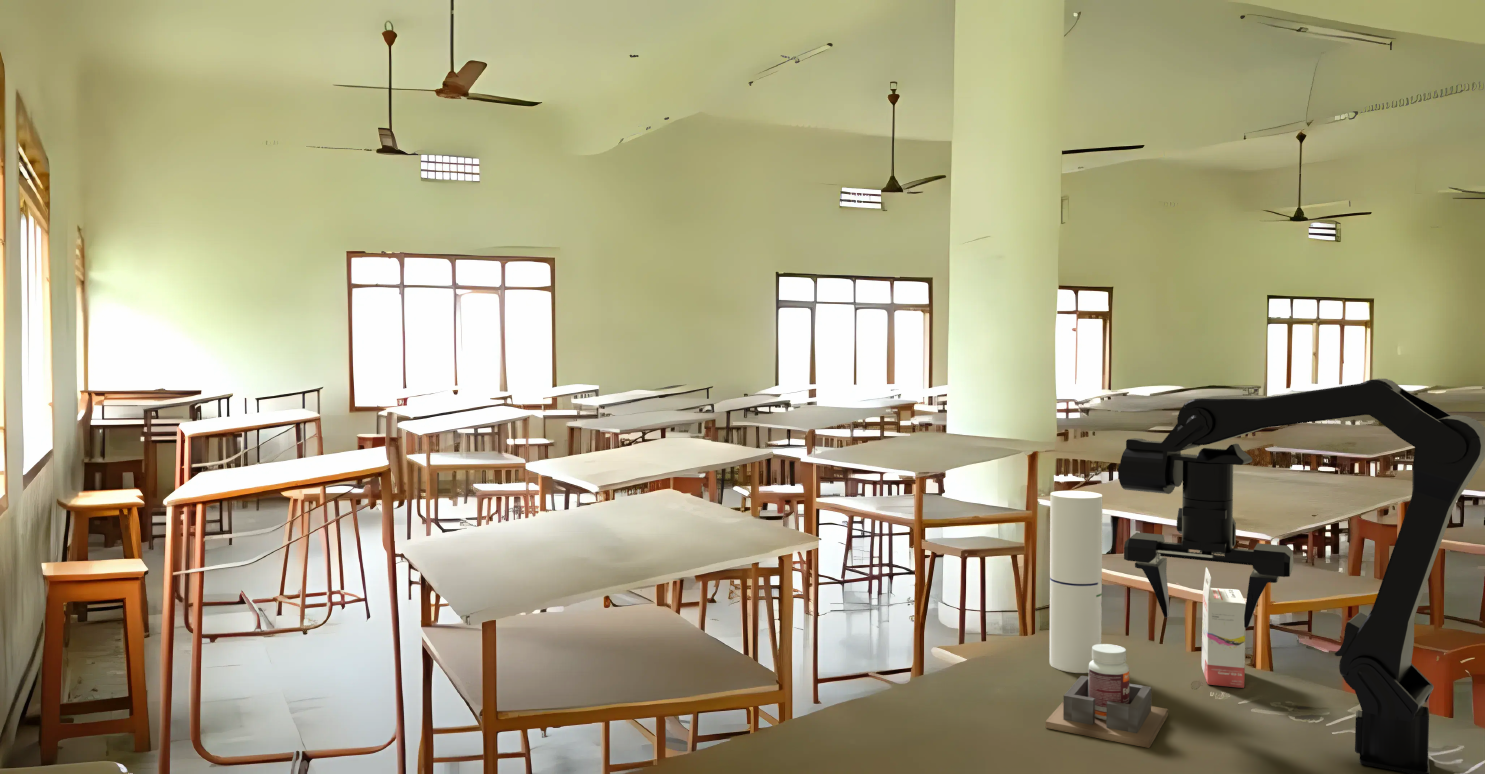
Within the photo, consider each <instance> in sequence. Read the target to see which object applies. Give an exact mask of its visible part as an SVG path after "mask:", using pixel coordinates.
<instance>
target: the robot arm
mask: <svg viewBox="0 0 1485 774" xmlns="http://www.w3.org/2000/svg"><path fill="white" fill-rule="evenodd" d="M1177 415H1178V416H1177V418H1176V419H1177V423H1176V425H1175V426H1174V427H1173V428H1172V429H1171V430H1170V432H1169V433H1168V434H1167V436H1166V437H1165V438H1163V441H1157V440H1147V439H1144V438H1136V437H1133V438H1127V439H1126V441H1125V449H1124V450H1123V452H1122V455H1121V458H1120V463H1119V464H1118V466H1117V477H1118V480H1119V484H1120V487H1121V488H1122V489H1123V490H1126V491H1135V492H1144V493H1153V494H1163V495H1170V494H1172V493H1173V492H1174V490H1175V488H1179V487H1180V486H1181V485H1182V497H1181V499H1182V505H1181V507H1179V508H1178V510H1177V511H1178V512H1177V517H1176V518H1177V519H1176V531H1177V532H1178V534H1179V535H1180V534H1181V542H1171V541H1170V542H1169V541H1166V540H1165V536H1164V534H1160V533H1159V534H1158V533H1148V532H1147V533H1146V532H1139V531H1137V532H1135V533H1134V534H1132V535H1131V536H1130V537H1129V538H1128V539H1126V540H1125V541H1124V547H1123V560H1125V561H1128V562H1129V561H1130V562H1134V568H1136V569H1140V570H1142V571H1143V573H1144V575H1145V577H1146V578H1147V580H1148V581H1149V584H1150V586H1151V588H1152V589H1153V592H1154V594H1155V597H1156V600H1157V603H1158V604H1159V607H1160V610H1161V612H1162V615H1163V617H1164V618H1169V616H1170V597H1169V588H1168V576H1167V569H1168V566H1167V565H1168V564H1167V563H1168V558H1175V559H1185V560H1194V561H1195V560H1196V561H1207V562H1214V563H1215V562H1216V563H1224V564H1234V565H1247V566H1252V572H1251V574H1250V575H1249V578H1248V579H1249V580H1248V585H1247V586H1248V587H1247V592H1246V593H1247V594H1246V600H1245V602H1246V607H1245V614H1244V627H1245V629H1248V628H1249V626H1250V625H1251V621H1252V618H1253V615H1254V613H1255V611H1256V608H1257V605H1258V602H1259V600H1260V598H1261V595H1262V593H1263V591H1264V590H1265V588H1266V587H1267V584H1268V583H1270V584H1273V583H1274V584H1277V583H1278V581H1279V580H1280V577H1283V578H1289V577H1290V576H1291V574H1292V571H1293V570H1294V551H1293V550H1292V549H1291V548H1290V546H1289V545H1284V544H1283V545H1281V544H1280V545H1279V544H1269V543H1256V545H1255V547H1254V548H1253V549H1247V548H1245V549H1244V548H1233V547H1235V546H1236V542H1237V541H1236V540H1237V537H1236V536H1237V535H1236V534H1237V523H1236V521H1235V519H1234V516H1233V514H1234V512H1233V511H1234V510H1233V509H1234V508H1233V507H1234V506H1233V505H1234V501H1233V500H1234V465H1236V466H1242V465H1246V464H1249V463H1252V462H1253V458H1252V456H1251V455H1249V454H1248V453H1246V452H1245V451H1244V449H1242V448H1241V446H1240V444H1239V443H1233V444H1230V445H1229V446H1228V447H1227V448H1226V449H1225V448H1212V447H1203V448H1201V449H1200V450H1199V452H1198V454H1190V453H1189V454H1188V453H1182V451H1185V450H1190V449H1194V448H1198V447H1200V446H1207V445H1211V444H1216V443H1220V442H1224V441H1227V440H1232V439H1234V438H1238V437H1241V436H1245V435H1247V434H1251V433H1253V432H1257V431H1260V430H1262V429H1267V428H1275V427H1281V426H1289V425H1299V424H1305V423H1314V422H1321V421H1327V420H1335V419H1345V418H1351V417H1358V416H1360V417H1361V416H1370V417H1371V418H1373V419H1375V420H1377V421H1378V422H1379V423H1381V425H1383V426H1384V427H1385V428H1386V429H1388V430H1389V431H1391V432H1392V433H1393V434H1394V435H1396V436H1397V437H1398V438H1400V439H1401V440H1403V441H1405V442H1406V443H1407V444H1409V445H1411V446H1412V447H1413V448H1414V454H1413V461H1412V475H1411V476H1412V477H1411V478H1412V480H1411V481H1412V487H1411V489H1412V491H1411V492H1412V493H1411V498H1410V500H1409V503H1408V506H1407V508H1406V511H1405V515H1404V517H1403V520H1402V523H1401V526H1400V529H1399V532H1398V534H1397V538H1396V540H1395V543H1394V547H1393V549H1392V552H1391V554H1390V558H1389V560H1388V563H1387V566H1386V570H1385V571H1384V574H1383V578H1382V580H1381V584H1380V586H1379V590H1378V592H1377V595H1376V598H1375V600H1374V604H1373V607H1372V609H1371V610H1370V612H1369V614H1368V615H1367V614H1365V613H1363V612H1362V611H1359V612H1357V614H1356V615H1354V617H1352V618H1351V619H1350V620H1348V621H1347V622H1346V623H1345V624H1346V625H1345V628H1344V633H1343V635H1344V636H1343V641H1342V644H1341V646H1340V648H1339V649H1338V650H1337V651H1335V653H1334V656H1335V657H1340V660H1339V665H1338V669H1339V673H1340V675H1341V677H1342V678H1343V680H1344V681H1345V683H1346V685H1348V686H1349V687H1350V688H1351V690H1353V691H1354V692H1355V695H1356V698H1357V701H1358V703H1359V706H1360V708H1361V710H1358V709H1357V710H1356V711H1355V726H1354V727H1355V729H1354V730H1355V737H1354V738H1355V739H1354V741H1355V742H1354V752H1355V753H1356V754H1359V764H1361V765H1364V766H1369V767H1375V768H1380V769H1385V770H1389V771H1390V770H1391V771H1395V772H1402V773H1407V774H1431V770H1430V759H1429V750H1430V749H1429V747H1430V746H1429V744H1430V743H1429V742H1430V739H1429V738H1430V731H1429V730H1430V711H1429V707H1427V706H1423V705H1424V704H1425V703H1427V702H1428V700H1429V698H1430V696H1431V695H1432V692H1433V690H1434V687H1435V686H1434V684H1433V683H1432V682H1431V681H1430V680H1429V679H1428V678H1427V677H1426V676H1425V675H1424V674H1423V673H1422V672H1421V671H1420V670H1419V669H1418V668H1417V667H1416V666H1415V665H1414V664H1413V663H1412V659H1413V652H1414V645H1415V616H1416V614H1417V611H1418V608H1419V605H1420V602H1421V600H1422V597H1423V595H1424V591H1425V588H1426V586H1427V583H1428V581H1429V578H1430V574H1431V572H1432V569H1433V566H1434V564H1435V560H1436V557H1437V555H1438V552H1439V550H1440V547H1441V545H1442V540H1443V538H1444V536H1445V534H1446V533H1445V532H1446V530H1447V527H1448V525H1449V521H1450V519H1451V516H1452V513H1453V511H1454V508H1455V505H1456V502H1458V500H1459V498H1460V497H1461V496H1462V494H1463V492H1464V491H1465V490H1466V488H1467V486H1468V485H1469V483H1470V482H1471V481H1472V479H1473V478H1474V476H1475V475H1476V473H1477V471H1478V470H1479V468H1480V466H1481V465H1482V463H1483V462H1484V460H1485V426H1484V425H1483V424H1482V423H1481V422H1480V421H1478V420H1477V419H1475V418H1473V417H1470V416H1468V415H1461V414H1460V415H1459V414H1456V415H1455V414H1454V415H1452V414H1449V413H1448V412H1447V411H1445V410H1443V409H1441V408H1440V407H1438V406H1436V405H1435V404H1432V403H1430V402H1429V401H1427V400H1425V399H1423V398H1421V397H1419V396H1416V395H1415V394H1413V393H1411V392H1409V391H1407V390H1406V389H1404V388H1402V387H1401V386H1400V385H1398V384H1397V383H1396V382H1395V381H1393V380H1391V379H1388V378H1373V379H1369V380H1366V381H1363V382H1361V383H1355V384H1348V385H1341V386H1340V385H1339V386H1334V387H1328V388H1327V387H1326V388H1322V389H1321V388H1320V389H1314V390H1307V391H1299V392H1294V393H1287V394H1281V395H1280V394H1279V395H1273V396H1268V397H1267V396H1266V397H1257V396H1256V397H1253V396H1225V395H1224V396H1222V395H1218V396H1207V397H1198V398H1193V399H1191V400H1188V401H1187V402H1185V403H1184V404H1183V405H1182V407H1181V408H1180V409H1179V411H1178V414H1177ZM1191 550H1194V551H1191ZM1195 551H1196V552H1195ZM1197 551H1198V552H1197Z"/></svg>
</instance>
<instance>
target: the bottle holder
mask: <svg viewBox="0 0 1485 774" xmlns="http://www.w3.org/2000/svg"><path fill="white" fill-rule="evenodd" d="M1168 716H1169V709H1168V708H1164V707H1159V706H1154V705H1152V686H1146V685H1141V684H1134V683H1129V704H1125V703H1119V702H1114V701H1108V702H1107V715H1106V720H1103V719H1098V718H1096V717H1095V698H1091V697H1089V676H1086V675H1080V676H1079V677H1078V678H1077V680H1076V681H1075V682H1074V683H1073V684H1072V685H1071V687H1070V688H1069V689H1068V690H1067V691H1066V692H1065V693H1064V694H1063V700H1062V702H1061V703H1060V705H1058V706H1057V707H1056V709H1055V710H1054V711H1053V712H1052V713H1051V714H1050V715H1049V717H1048V718H1047V719H1046V720H1045V728H1046V729H1051V730H1053V731H1054V730H1055V731H1059V732H1066V733H1070V734H1076V735H1081V736H1085V737H1091V738H1097V739H1100V740H1107V741H1111V742H1116V743H1117V742H1118V743H1122V744H1126V745H1131V746H1136V747H1137V746H1138V747H1142V748H1148V749H1150V748H1151V746H1152V744H1153V743H1154V740H1155V739H1156V737H1157V735H1158V734H1159V731H1160V730H1161V728H1162V726H1163V725H1164V723H1165V721H1166V720H1167V718H1168Z"/></svg>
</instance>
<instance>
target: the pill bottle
mask: <svg viewBox="0 0 1485 774" xmlns="http://www.w3.org/2000/svg"><path fill="white" fill-rule="evenodd" d="M1092 659H1093V660H1092V661H1091V662H1090V663H1089V669H1088V671H1089V673H1088V677H1089V697H1091V698H1095V717H1096V718H1098V719H1103V720H1106V715H1107V702H1108V701H1114V702H1119V703H1125V704H1129V684H1130V667H1129V665H1128V664H1127V663H1126V662H1127V649H1126V648H1125V647H1124V646H1120V645H1116V644H1111V643H1101V644H1097V645H1094V646H1092Z"/></svg>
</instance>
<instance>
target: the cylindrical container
mask: <svg viewBox="0 0 1485 774" xmlns="http://www.w3.org/2000/svg"><path fill="white" fill-rule="evenodd" d="M1049 494H1050V497H1049V498H1050V499H1049V505H1050V506H1049V510H1050V511H1049V517H1050V518H1049V521H1050V522H1049V523H1050V524H1049V529H1050V530H1049V665H1050V666H1051V667H1052V668H1053V669H1055V670H1059V671H1062V672H1067V673H1075V674H1089V671H1088V669H1089V663H1090V662H1091V661H1092V660H1093V659H1092V646H1094V645H1097V644H1102V608H1103V607H1102V600H1103V597H1102V594H1103V593H1102V589H1103V587H1102V586H1103V581H1102V579H1103V578H1102V577H1103V567H1102V566H1103V494H1102V493H1098V492H1095V491H1087V490H1085V491H1083V490H1058V491H1057V490H1055V491H1052V492H1050V493H1049Z"/></svg>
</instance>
